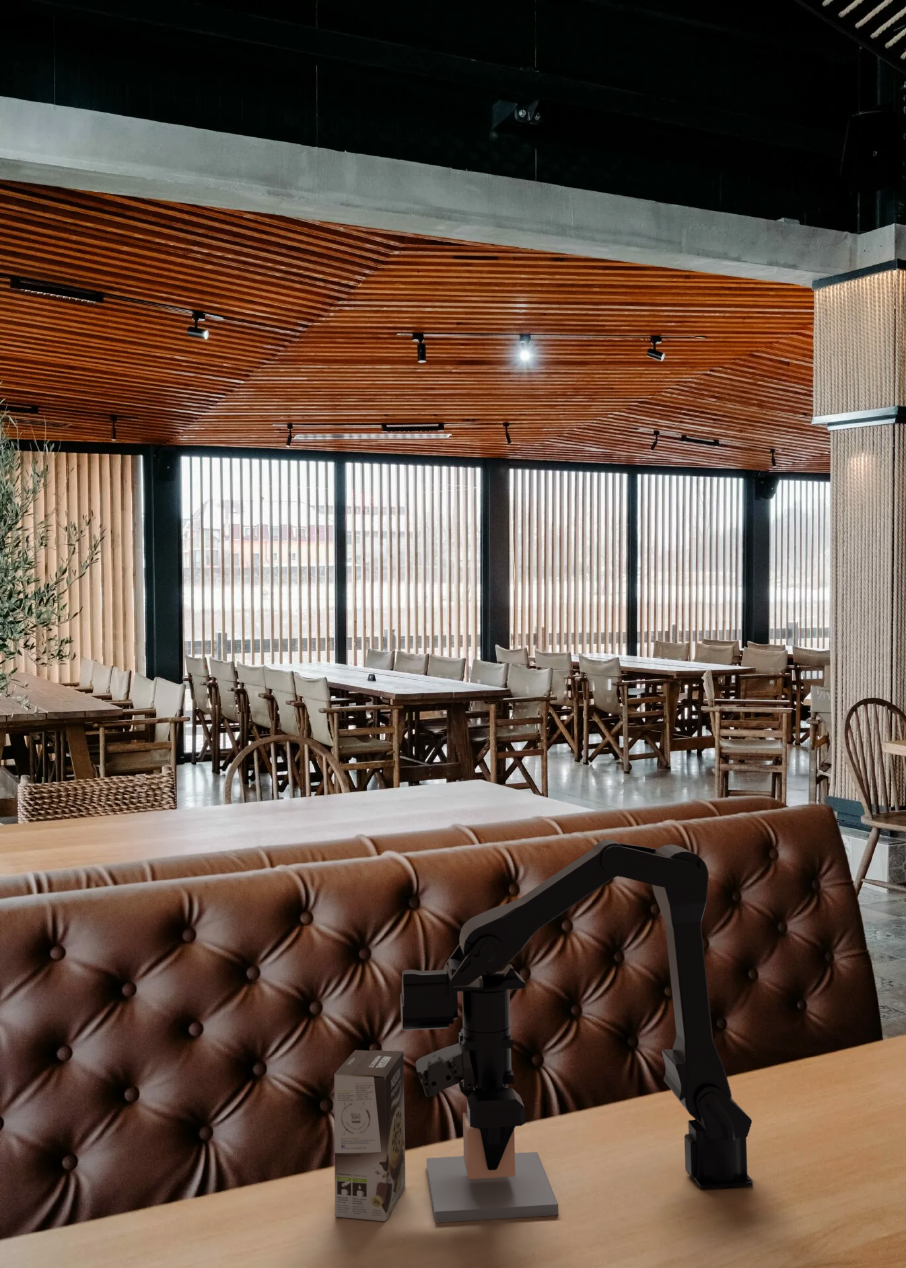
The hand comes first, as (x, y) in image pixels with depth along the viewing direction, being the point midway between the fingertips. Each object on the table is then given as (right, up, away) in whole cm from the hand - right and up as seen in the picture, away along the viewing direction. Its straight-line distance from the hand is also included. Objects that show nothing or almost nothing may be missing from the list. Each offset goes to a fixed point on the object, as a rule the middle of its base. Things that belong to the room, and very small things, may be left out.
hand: (489, 1158), depth 130 cm
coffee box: (-14, -4, -3) cm, 15 cm away
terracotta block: (0, -1, 0) cm, 1 cm away
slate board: (0, -4, 0) cm, 4 cm away
